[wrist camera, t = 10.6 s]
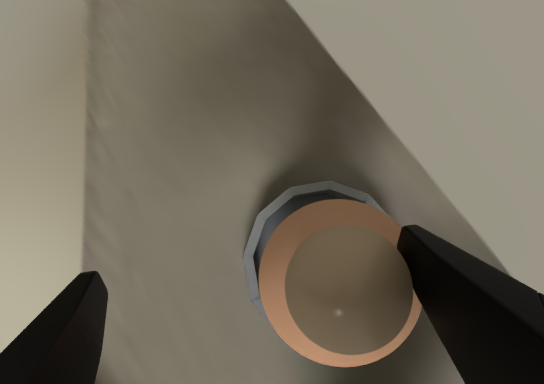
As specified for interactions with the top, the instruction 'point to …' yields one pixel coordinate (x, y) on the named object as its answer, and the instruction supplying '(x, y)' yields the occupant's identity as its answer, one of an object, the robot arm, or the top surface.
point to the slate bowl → (278, 213)
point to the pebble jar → (338, 283)
